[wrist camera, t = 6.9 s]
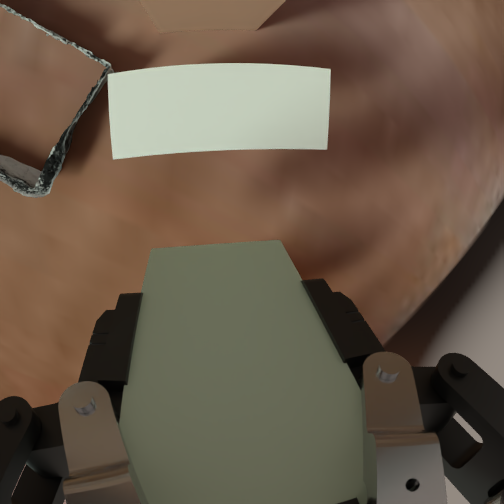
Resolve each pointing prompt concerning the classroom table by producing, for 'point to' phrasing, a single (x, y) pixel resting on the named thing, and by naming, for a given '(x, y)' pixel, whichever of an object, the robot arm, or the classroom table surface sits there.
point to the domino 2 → (238, 384)
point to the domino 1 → (218, 108)
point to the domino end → (209, 14)
